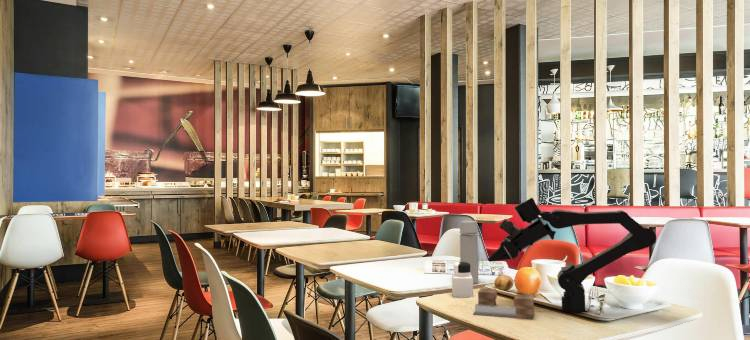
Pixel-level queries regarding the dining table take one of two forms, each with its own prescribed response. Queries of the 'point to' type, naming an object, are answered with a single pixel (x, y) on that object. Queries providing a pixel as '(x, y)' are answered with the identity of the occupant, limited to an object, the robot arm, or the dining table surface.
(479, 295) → the block
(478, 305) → the rail
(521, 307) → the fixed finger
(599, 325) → the dining table surface
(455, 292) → the medicine bottle
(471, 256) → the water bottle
